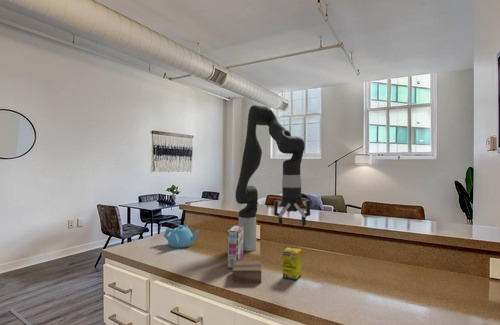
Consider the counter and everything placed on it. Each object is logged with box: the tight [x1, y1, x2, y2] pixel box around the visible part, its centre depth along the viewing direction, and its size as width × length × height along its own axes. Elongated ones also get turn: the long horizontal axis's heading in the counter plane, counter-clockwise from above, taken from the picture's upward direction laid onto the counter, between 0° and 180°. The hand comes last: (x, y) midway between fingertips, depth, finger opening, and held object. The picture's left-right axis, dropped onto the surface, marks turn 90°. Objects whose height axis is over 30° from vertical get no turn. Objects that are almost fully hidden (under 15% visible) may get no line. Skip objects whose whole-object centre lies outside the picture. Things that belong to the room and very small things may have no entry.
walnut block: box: [232, 260, 262, 284], centre depth 117 cm, size 11×11×5 cm
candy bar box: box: [226, 225, 244, 270], centre depth 131 cm, size 11×5×16 cm, turn 168°
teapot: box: [163, 224, 200, 249], centre depth 162 cm, size 15×15×11 cm
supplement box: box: [282, 246, 302, 281], centre depth 117 cm, size 6×6×11 cm
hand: (292, 226), depth 117 cm, fingers open, 8 cm apart
